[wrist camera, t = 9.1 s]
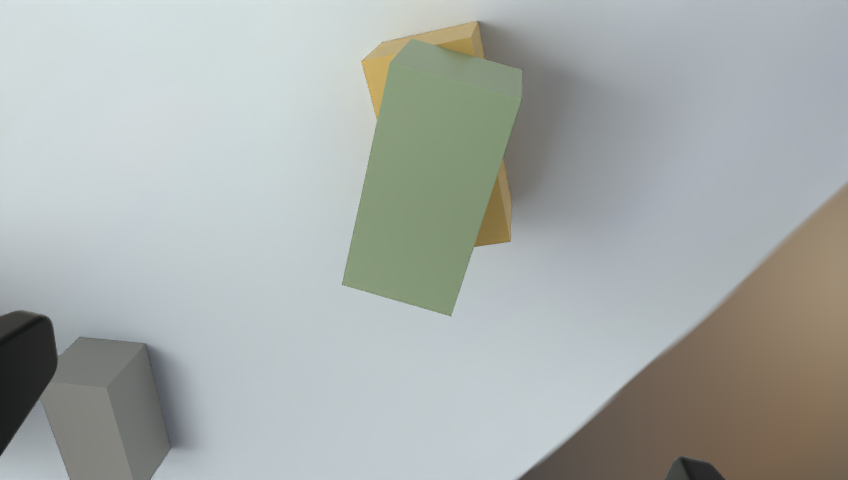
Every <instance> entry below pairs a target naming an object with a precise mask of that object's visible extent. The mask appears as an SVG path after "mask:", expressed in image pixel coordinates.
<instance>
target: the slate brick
mask: <svg viewBox="0 0 848 480" xmlns="http://www.w3.org/2000/svg"><path fill="white" fill-rule="evenodd" d="M40 398H41V401H42V403H43V406H44V409H45V412H46V415H47V417H48V420H49V423H50V426H51V428H52V431H53V434H54V437H55V440H56V442H57V445H58V448H59V451H60V453H61V456H62V459H63V462H64V465H65V467H66V470H67V473H68V476H69V478H70V480H150V479H151V478H152V476H153V475H154V473H155V472H156V470H157V469H158V467H159V466H160V464H161V463H162V461H163V460H164V458H165V457H166V455H167V454H168V452H169V451H170V449H171V446H170V441H169V437H168V433H167V429H166V425H165V421H164V417H163V413H162V409H161V405H160V401H159V397H158V393H157V388H156V384H155V380H154V376H153V372H152V368H151V364H150V360H149V356H148V352H147V348H146V344H145V343H136V342H126V341H115V340H105V339H94V338H83V337H79V338H78V339H77V340H76V341H75V342H74V343H73V344H72V345H71V346H70V347H69V348H68V349H67V350H65V351H64V352H63V353H62V354H61V355H60V356H59V357H58V365H57V369H56V372H55V375H54V376H53V378H52V380H51V381H50V383H49V384H48V386H47V387H46V389H45V390H44V392H43V393H42V395H41V396H40Z"/></svg>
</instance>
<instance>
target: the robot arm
mask: <svg viewBox="0 0 848 480" xmlns="http://www.w3.org/2000/svg"><path fill="white" fill-rule="evenodd" d="M57 365H58V356H57V349H56V343H55V336H54V330H53V324H52V321H51V320H50V319H49V317H47V316H45V315H42V314H37V313H33V312H28V311H21V310H20V311H15V312H11V313H8V314H5V315H2V316H0V456H1V455H2V453H3V452H4V450H5V449H6V447H7V446H8V444H9V443H10V441H11V440H12V438H13V437H14V435H15V434H16V432H17V431H18V429H19V428H20V426H21V425H22V423H23V422H24V420H25V419H26V417H27V416H28V414H29V413H30V411H31V410H32V408H33V407H34V405H35V404H36V402H37V401H38V399H39V398H40V396H41V395H42V393H43V392H44V390H45V389H46V387H47V386H48V384H49V383H50V381H51V380H52V378H53V376H54V375H55V372H56V369H57ZM664 480H725V479H724V478H723V477H722V475H721V474H720V473H719V472H718V471H717V470H716V469H715V468H714V466H713V465H711V464H710V463H709V462H706V461H704V460H699V459H695V458H690V457H685V456H679V457H677V458H676V459H675V460H674V462H673V463H672V465H671V467H670V469H669V471H668V473H667V475H666V477H665V479H664Z"/></svg>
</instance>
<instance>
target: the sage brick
mask: <svg viewBox="0 0 848 480" xmlns="http://www.w3.org/2000/svg"><path fill="white" fill-rule="evenodd" d="M521 101H522V70H521V69H517V68H514V67H510V66H507V65H503V64H500V63H496V62H493V61H489V60H486V59H482V58H479V57H475V56H472V55H468V54H465V53H461V52H457V51H454V50H450V49H447V48H443V47H440V46H436V45H433V44H429V43H426V42H422V41H419V40H415V39H411V40H410V41H409V42H408V43H407V44H406V45H405V46H404V47H403V48H402V50H401V51H400V52H399V53H398V54H397V55H396V56H395V57H394V58H393V59H392V60H391V61H390V64H389V69H388V74H387V78H386V83H385V88H384V92H383V97H382V101H381V106H380V111H379V115H378V120H377V125H376V129H375V134H374V139H373V143H372V148H371V152H370V157H369V162H368V166H367V171H366V176H365V180H364V185H363V190H362V194H361V199H360V204H359V208H358V213H357V217H356V222H355V227H354V231H353V236H352V241H351V245H350V250H349V255H348V259H347V264H346V268H345V273H344V278H343V282H342V285H345V286H348V287H352V288H355V289H359V290H362V291H366V292H369V293H372V294H376V295H379V296H383V297H386V298H390V299H393V300H397V301H400V302H404V303H407V304H411V305H414V306H417V307H421V308H424V309H428V310H431V311H435V312H438V313H442V314H445V315H449V316H451V315H452V312H453V309H454V306H455V303H456V300H457V296H458V293H459V290H460V287H461V284H462V281H463V278H464V275H465V272H466V269H467V266H468V263H469V260H470V257H471V254H472V251H473V247H474V244H475V241H476V238H477V235H478V232H479V229H480V226H481V223H482V220H483V217H484V214H485V211H486V208H487V205H488V202H489V199H490V195H491V192H492V189H493V186H494V183H495V180H496V177H497V174H498V171H499V168H500V165H501V162H502V159H503V156H504V153H505V150H506V147H507V143H508V140H509V137H510V134H511V131H512V128H513V125H514V122H515V119H516V116H517V113H518V110H519V107H520V104H521Z"/></svg>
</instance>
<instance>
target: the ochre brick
mask: <svg viewBox="0 0 848 480" xmlns="http://www.w3.org/2000/svg"><path fill="white" fill-rule="evenodd" d="M411 39H415V40H419V41H422V42H426V43H429V44H433V45H436V46H440V47H443V48H447V49H450V50H454V51H457V52H461V53H465V54H468V55H472V56H475V57H479V58H482V59H485V56H484V51H483V46H482V40H481V35H480V29H479V24H478V21H475V22H471V23H466V24H462V25H457V26H453V27H448V28H444V29H440V30H435V31H431V32H426V33H422V34H417V35H413V36H408V37H404V38H400V39H395V40H391V41H386V42H382V43H381V44H380V45H379V46H378V47H377V48H375V49H374V50H373V51H372V52H371V53H370V54H369V55H368V56H366V57H365V58H364V59H363V60H362V61H361V62H362V65H363V69H364V73H365V77H366V80H367V84H368V88H369V91H370V95H371V99H372V103H373V106H374V110H375V114H376V117H377V120H378V115H379V111H380V106H381V101H382V97H383V92H384V88H385V83H386V78H387V74H388V69H389V64H390V61H391V60H392V59H393V58H394V57H395V56H396V55H397V54H398V53H399V52H400V51H401V50H402V48H403V47H404V46H405V45H406V44H407V43H408V42H409V41H410V40H411ZM511 216H512V200H511V195H510V190H509V184H508V179H507V174H506V168H505V163H504V158H503V159H502V162H501V165H500V168H499V171H498V174H497V177H496V180H495V183H494V186H493V189H492V192H491V195H490V199H489V202H488V205H487V208H486V211H485V214H484V217H483V220H482V223H481V226H480V229H479V232H478V235H477V238H476V241H475V244H474V247H476V246H483V245H490V244H497V243H504V242H511Z"/></svg>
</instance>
